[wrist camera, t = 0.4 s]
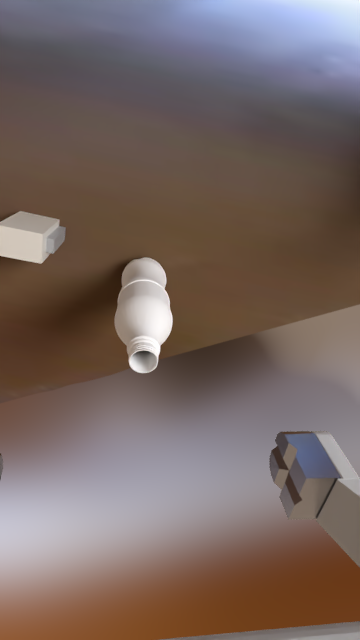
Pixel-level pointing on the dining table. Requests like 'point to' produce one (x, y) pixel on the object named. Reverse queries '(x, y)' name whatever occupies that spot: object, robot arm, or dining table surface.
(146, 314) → the water bottle
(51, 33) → the dining table surface
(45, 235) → the keyed plug
